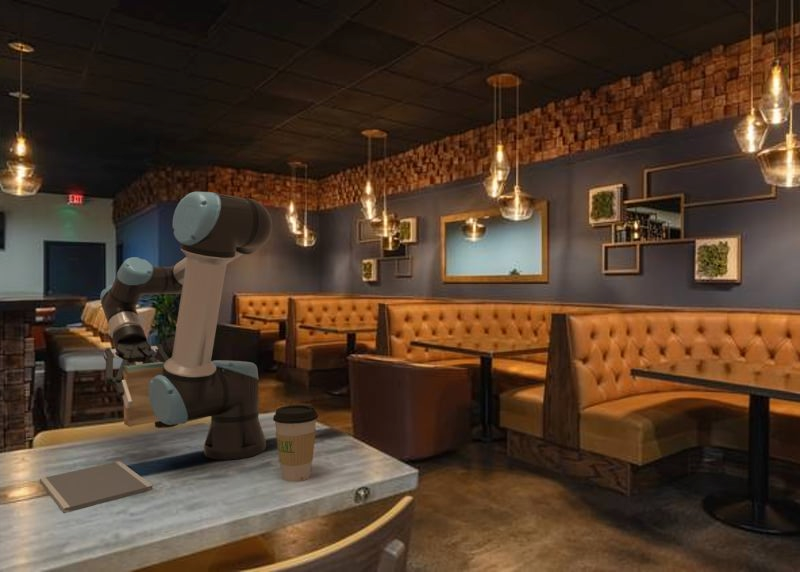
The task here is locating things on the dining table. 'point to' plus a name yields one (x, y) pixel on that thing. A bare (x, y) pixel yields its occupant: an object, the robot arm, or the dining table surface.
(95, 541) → the dining table surface
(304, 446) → the coffee cup
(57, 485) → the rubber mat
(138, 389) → the oak slab
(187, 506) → the dining table surface
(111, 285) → the robot arm
